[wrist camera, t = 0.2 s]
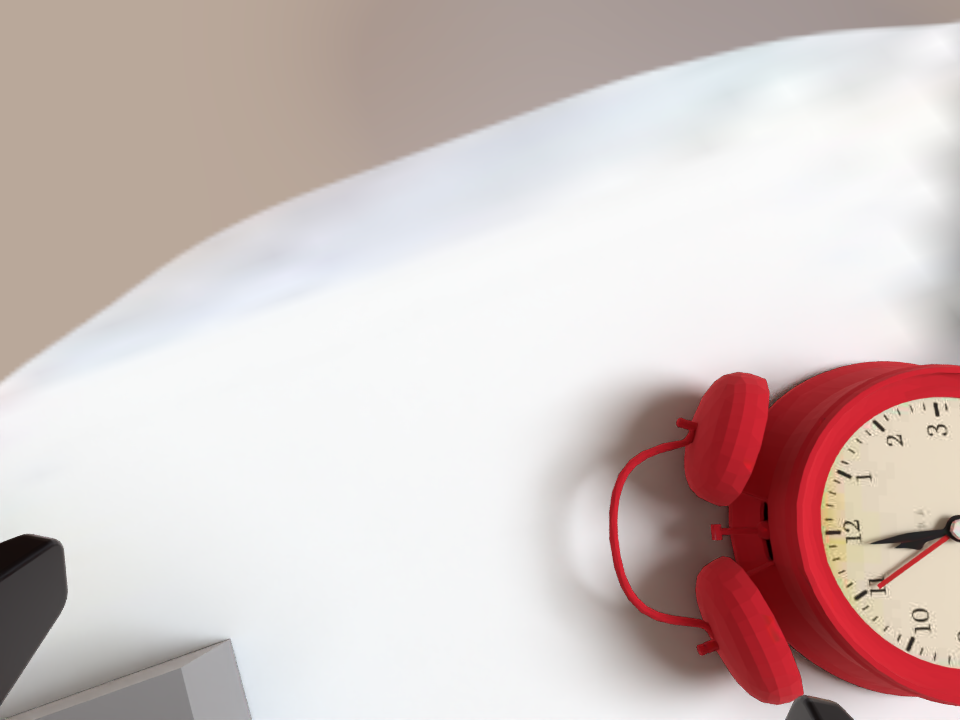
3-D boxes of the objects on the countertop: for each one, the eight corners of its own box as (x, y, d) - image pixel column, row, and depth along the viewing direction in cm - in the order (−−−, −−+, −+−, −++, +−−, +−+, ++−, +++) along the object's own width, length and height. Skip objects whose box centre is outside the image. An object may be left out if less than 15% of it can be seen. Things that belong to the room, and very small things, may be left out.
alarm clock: (1237, 723, 18) (710, 798, 15) (1013, 663, 24) (607, 708, 21) (1153, 333, 20) (668, 335, 17) (965, 369, 26) (584, 374, 23)
